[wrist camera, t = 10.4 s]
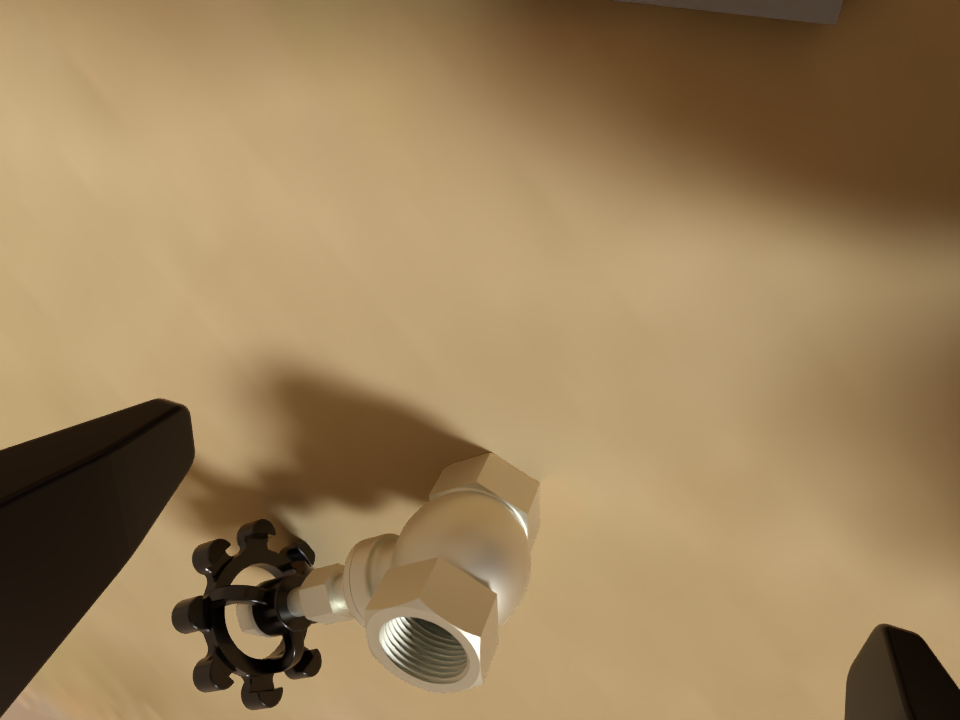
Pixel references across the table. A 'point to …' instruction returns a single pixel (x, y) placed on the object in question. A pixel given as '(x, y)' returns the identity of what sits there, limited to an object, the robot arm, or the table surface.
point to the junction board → (762, 8)
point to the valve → (379, 589)
